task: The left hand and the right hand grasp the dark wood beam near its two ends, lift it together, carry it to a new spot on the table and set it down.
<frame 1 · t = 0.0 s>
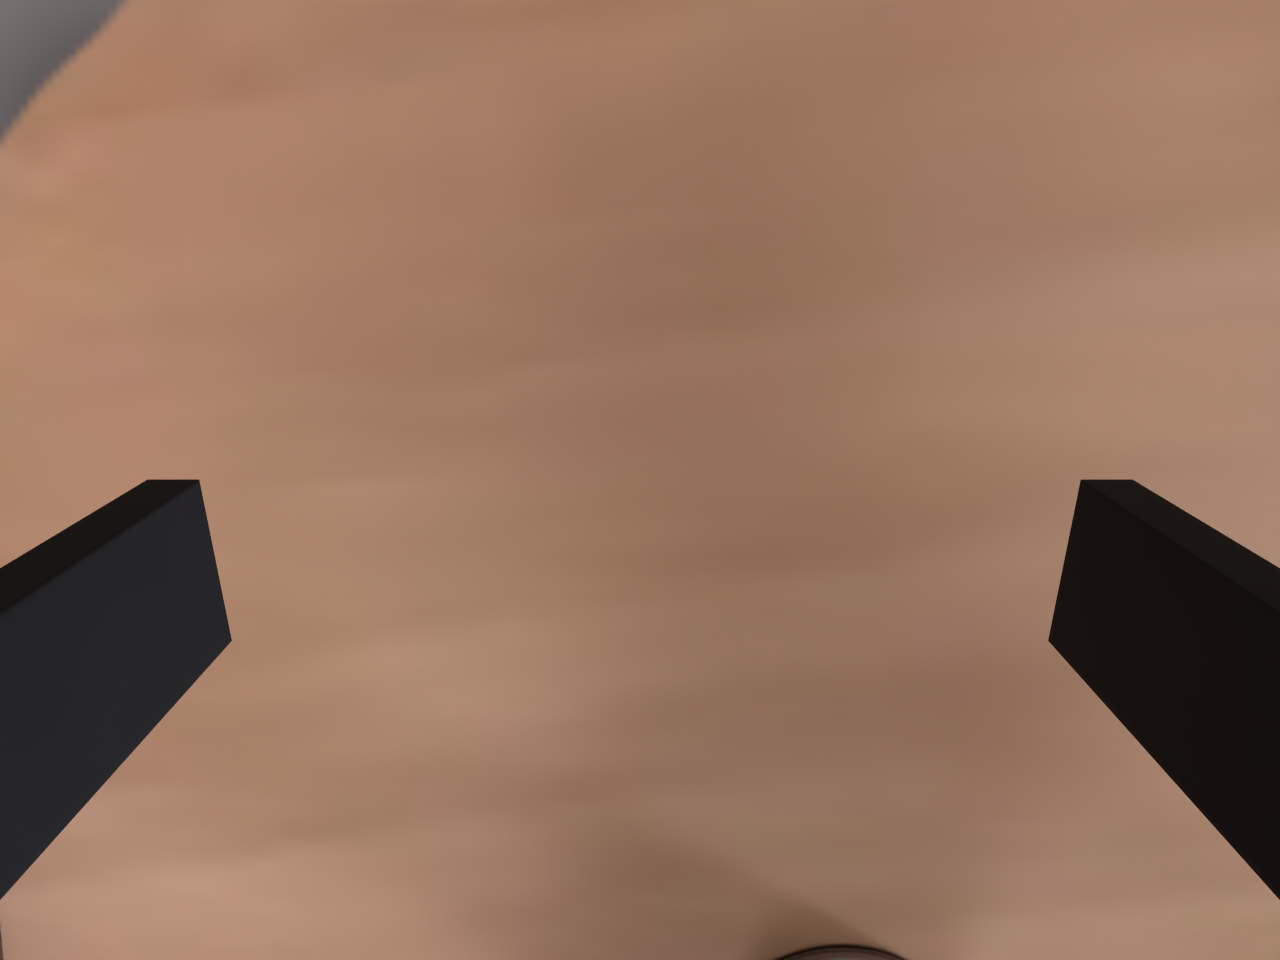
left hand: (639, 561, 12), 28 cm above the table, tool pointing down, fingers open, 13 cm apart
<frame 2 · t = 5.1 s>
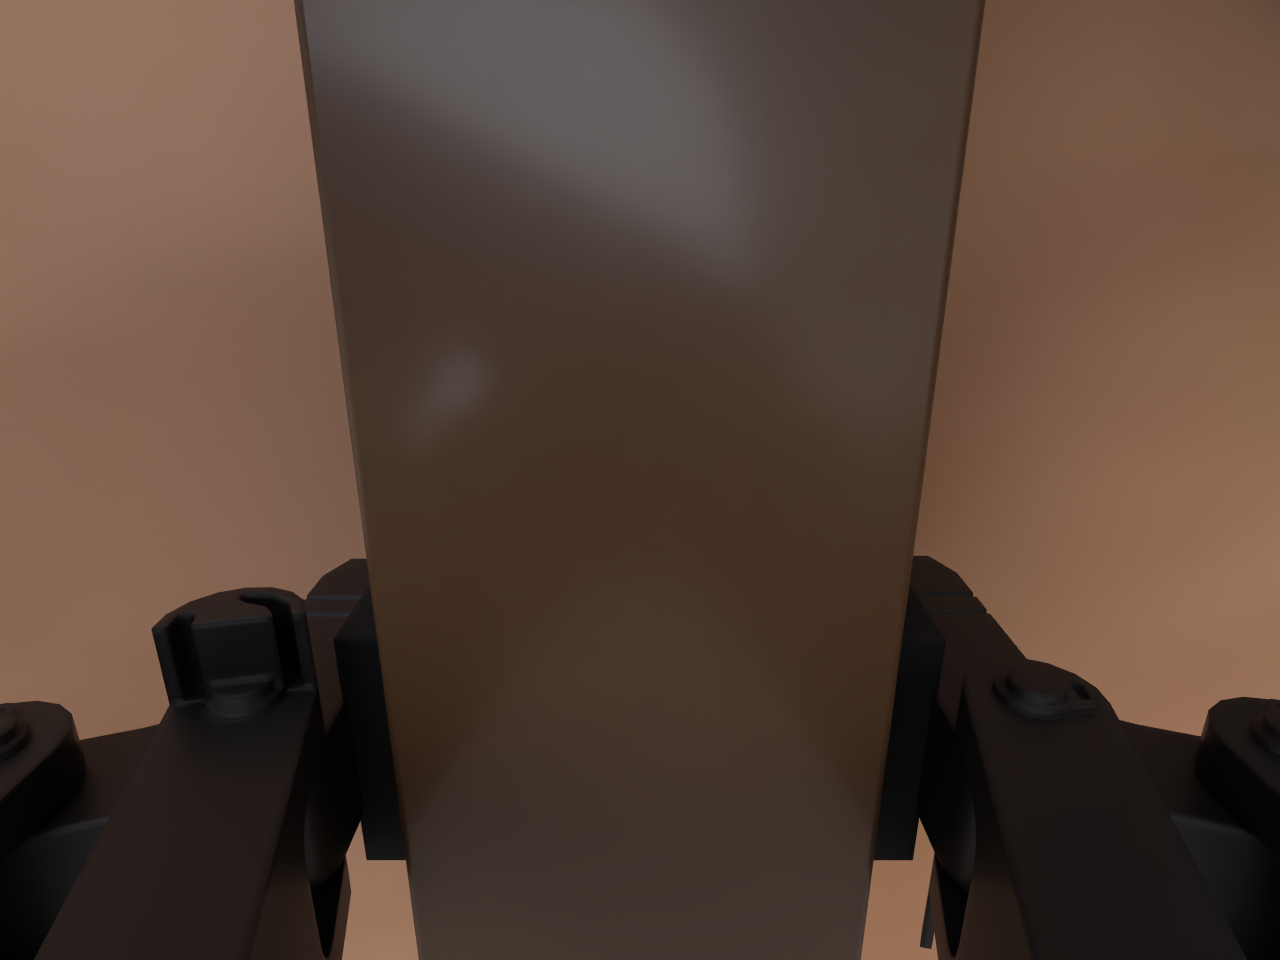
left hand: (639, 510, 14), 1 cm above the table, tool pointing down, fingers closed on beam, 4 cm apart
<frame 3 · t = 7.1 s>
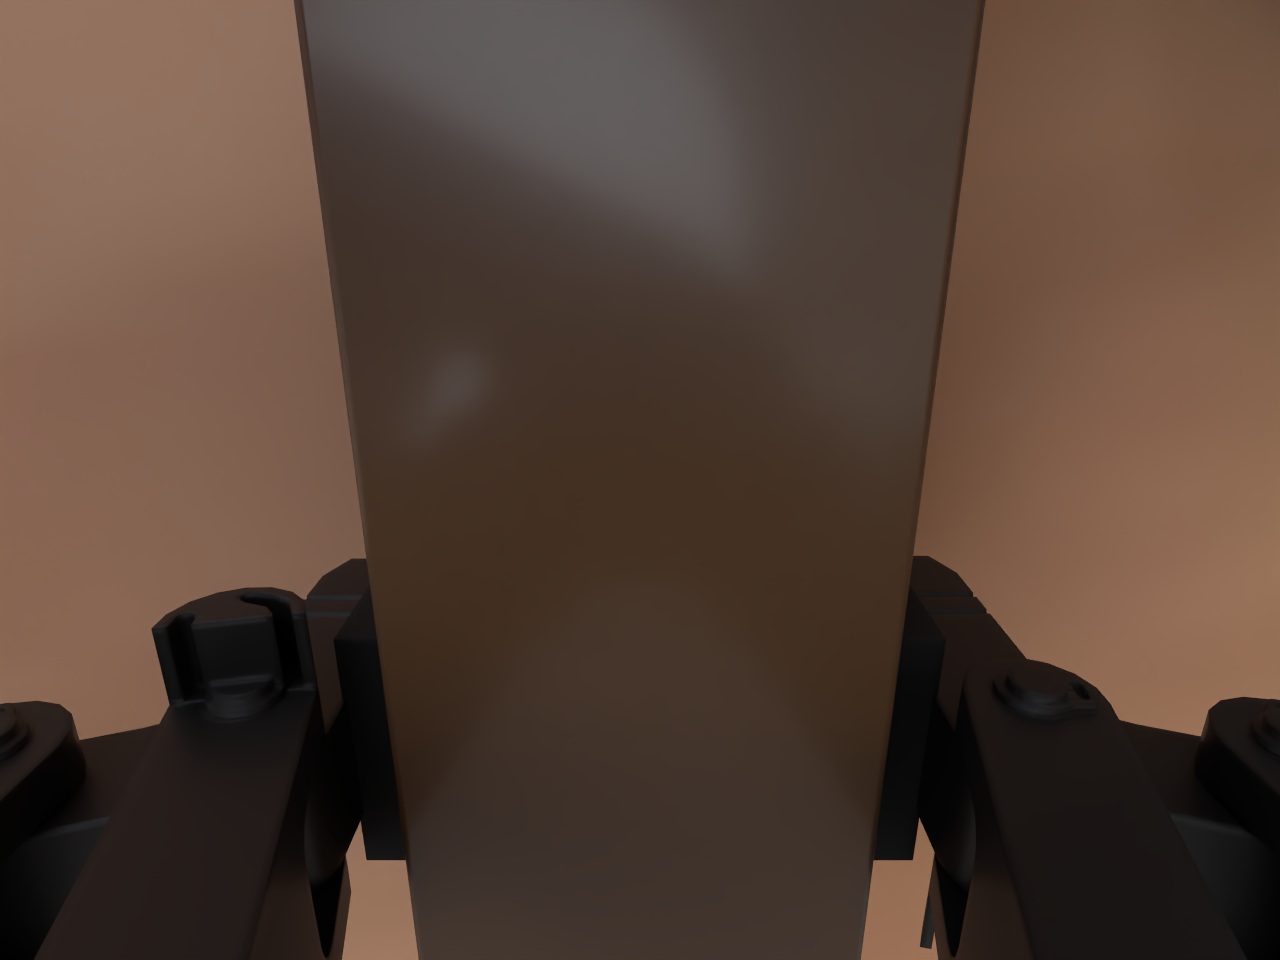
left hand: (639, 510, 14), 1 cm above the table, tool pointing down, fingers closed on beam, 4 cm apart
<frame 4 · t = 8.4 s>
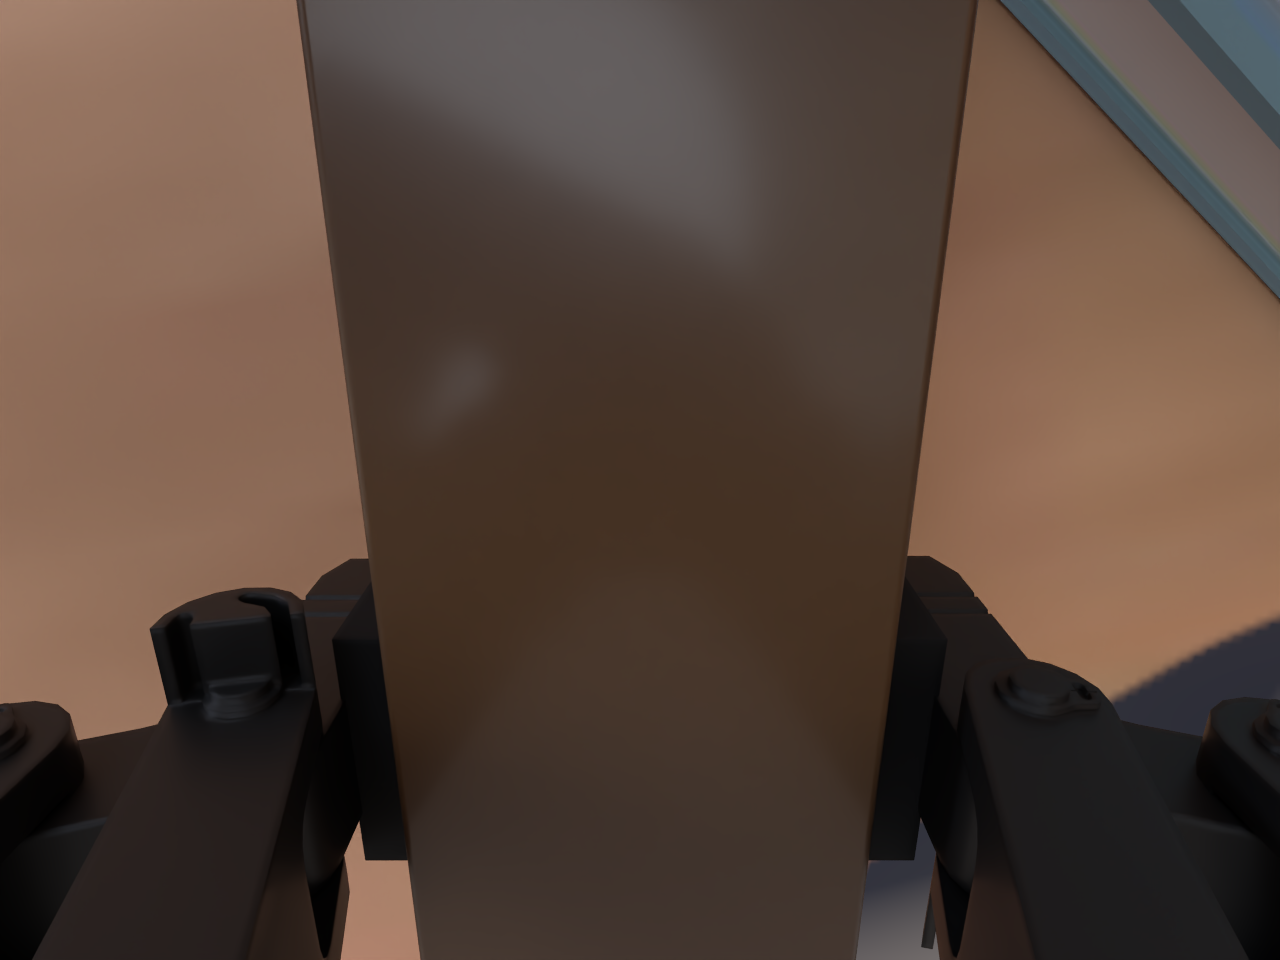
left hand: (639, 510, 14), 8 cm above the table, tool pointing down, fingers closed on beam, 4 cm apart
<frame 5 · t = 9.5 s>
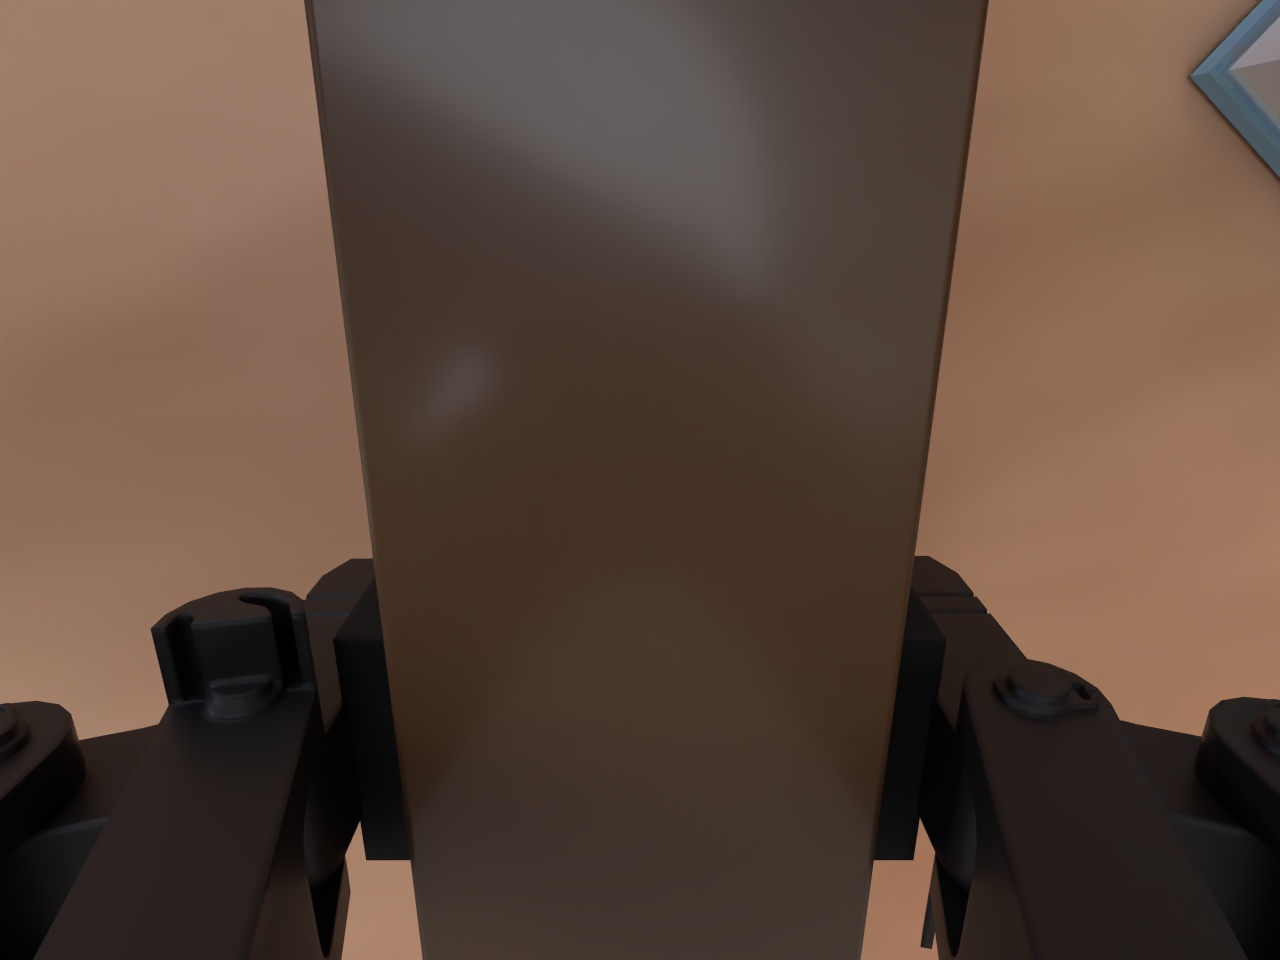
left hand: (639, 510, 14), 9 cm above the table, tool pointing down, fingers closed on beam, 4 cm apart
when the left hand's fingers open (2 cm above the table, at t = 12.1 s): beam drops 1 cm, on the table.
when the right hand's fingers open (4 cm above the table, at t = 12.3 s): beam stays where it is, on the table.
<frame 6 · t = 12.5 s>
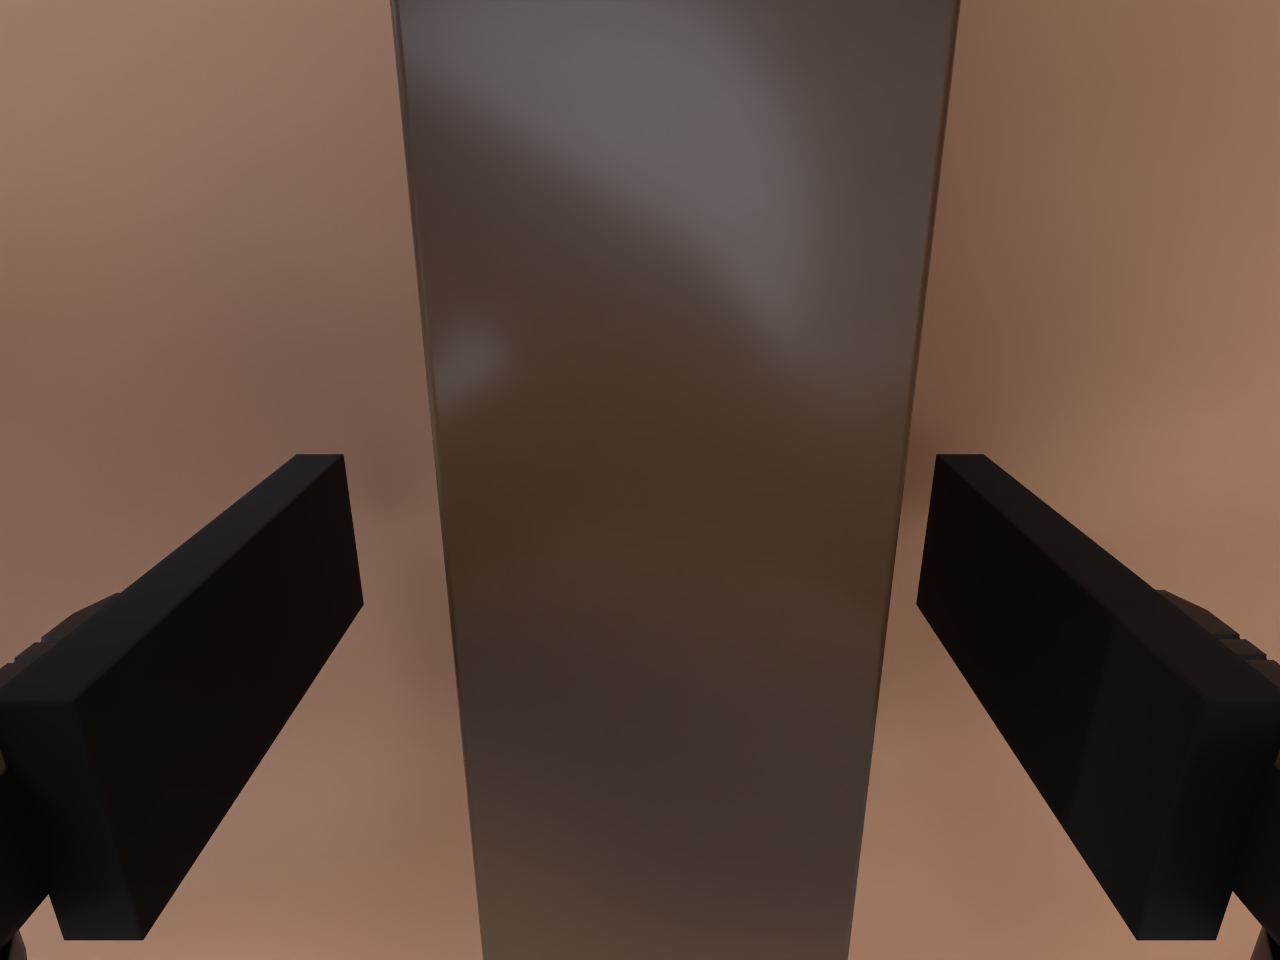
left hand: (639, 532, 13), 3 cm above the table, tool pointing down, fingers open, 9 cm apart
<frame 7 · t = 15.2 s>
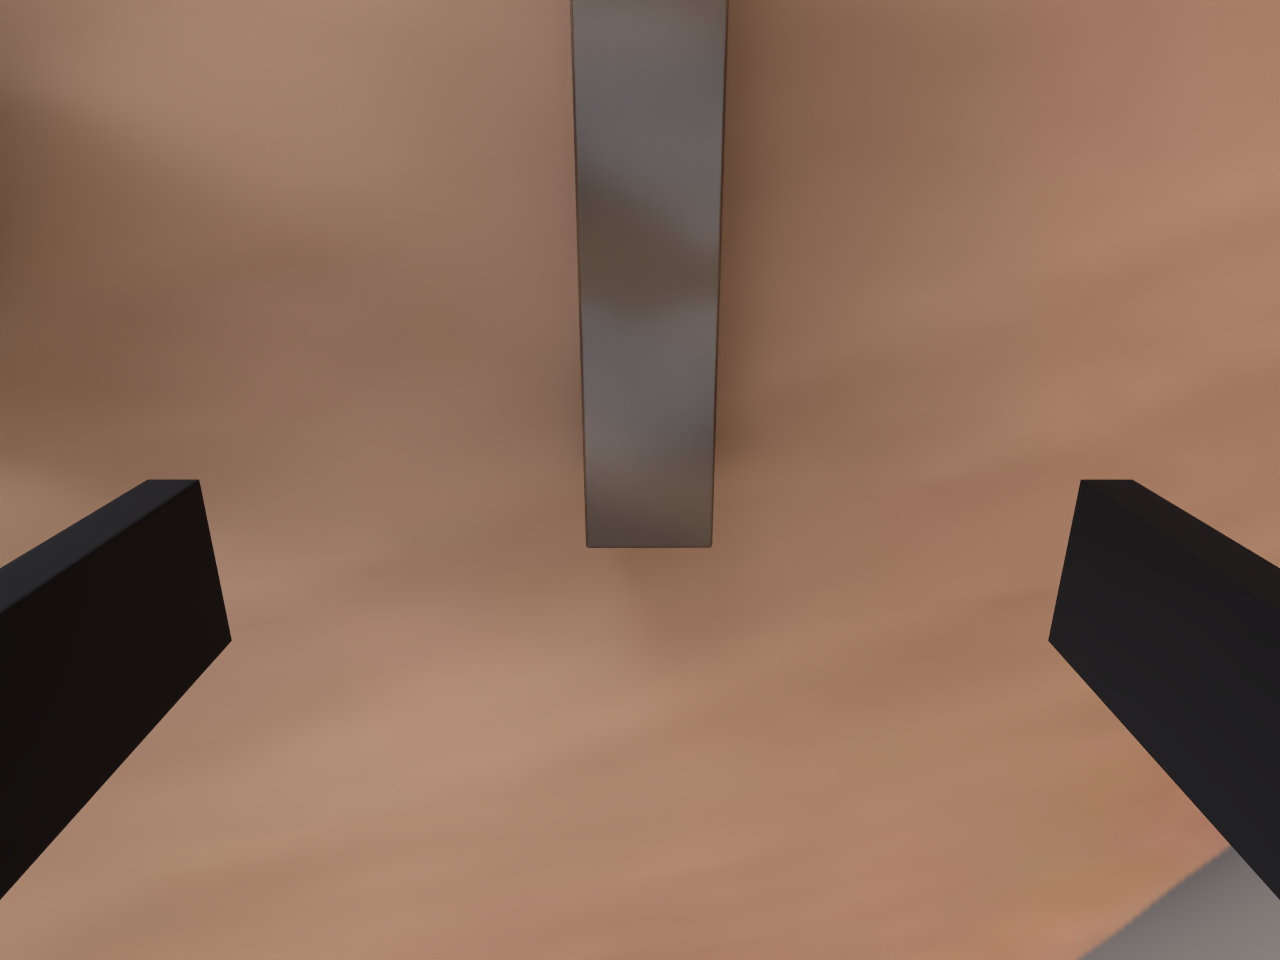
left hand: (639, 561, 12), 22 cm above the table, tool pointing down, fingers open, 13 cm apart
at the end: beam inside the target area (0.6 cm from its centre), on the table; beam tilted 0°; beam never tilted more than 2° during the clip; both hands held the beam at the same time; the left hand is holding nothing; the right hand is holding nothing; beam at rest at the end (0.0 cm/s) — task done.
